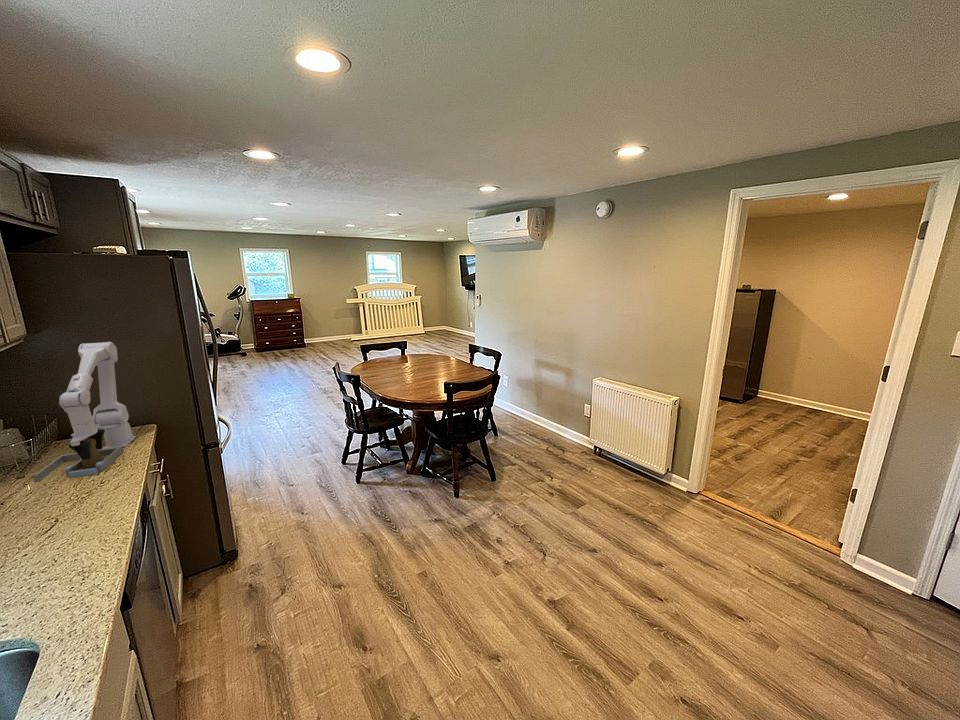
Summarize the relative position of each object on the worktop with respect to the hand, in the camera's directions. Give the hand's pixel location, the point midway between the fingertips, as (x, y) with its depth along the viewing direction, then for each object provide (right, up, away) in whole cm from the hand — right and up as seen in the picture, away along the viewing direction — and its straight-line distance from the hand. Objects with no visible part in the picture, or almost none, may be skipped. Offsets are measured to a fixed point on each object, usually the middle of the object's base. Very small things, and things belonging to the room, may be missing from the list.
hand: (92, 453), depth 145 cm
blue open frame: (-4, -5, 0) cm, 6 cm away
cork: (0, -5, +1) cm, 5 cm away
